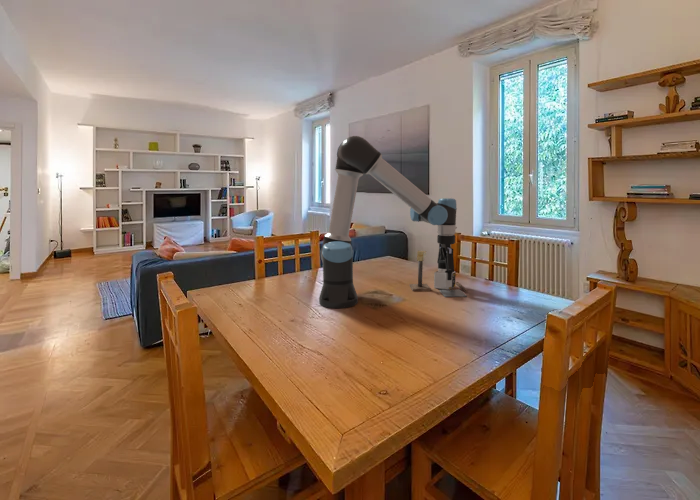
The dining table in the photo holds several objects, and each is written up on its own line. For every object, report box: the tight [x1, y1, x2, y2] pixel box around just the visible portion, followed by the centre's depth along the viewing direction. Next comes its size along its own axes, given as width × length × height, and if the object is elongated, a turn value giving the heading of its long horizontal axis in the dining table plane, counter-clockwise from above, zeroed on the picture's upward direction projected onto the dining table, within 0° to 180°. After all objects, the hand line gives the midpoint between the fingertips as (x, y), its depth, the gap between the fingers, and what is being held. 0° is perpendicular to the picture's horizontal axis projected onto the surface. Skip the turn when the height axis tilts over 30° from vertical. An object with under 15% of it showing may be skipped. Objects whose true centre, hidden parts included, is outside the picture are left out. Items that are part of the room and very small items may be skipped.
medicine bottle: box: [433, 260, 457, 290], centre depth 168 cm, size 7×7×12 cm
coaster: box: [439, 289, 468, 298], centre depth 160 cm, size 9×9×1 cm
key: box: [416, 250, 427, 262], centre depth 170 cm, size 15×3×4 cm, turn 162°
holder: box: [409, 261, 469, 293], centre depth 168 cm, size 23×14×12 cm, turn 91°
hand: (444, 283), depth 169 cm, fingers open, 11 cm apart
